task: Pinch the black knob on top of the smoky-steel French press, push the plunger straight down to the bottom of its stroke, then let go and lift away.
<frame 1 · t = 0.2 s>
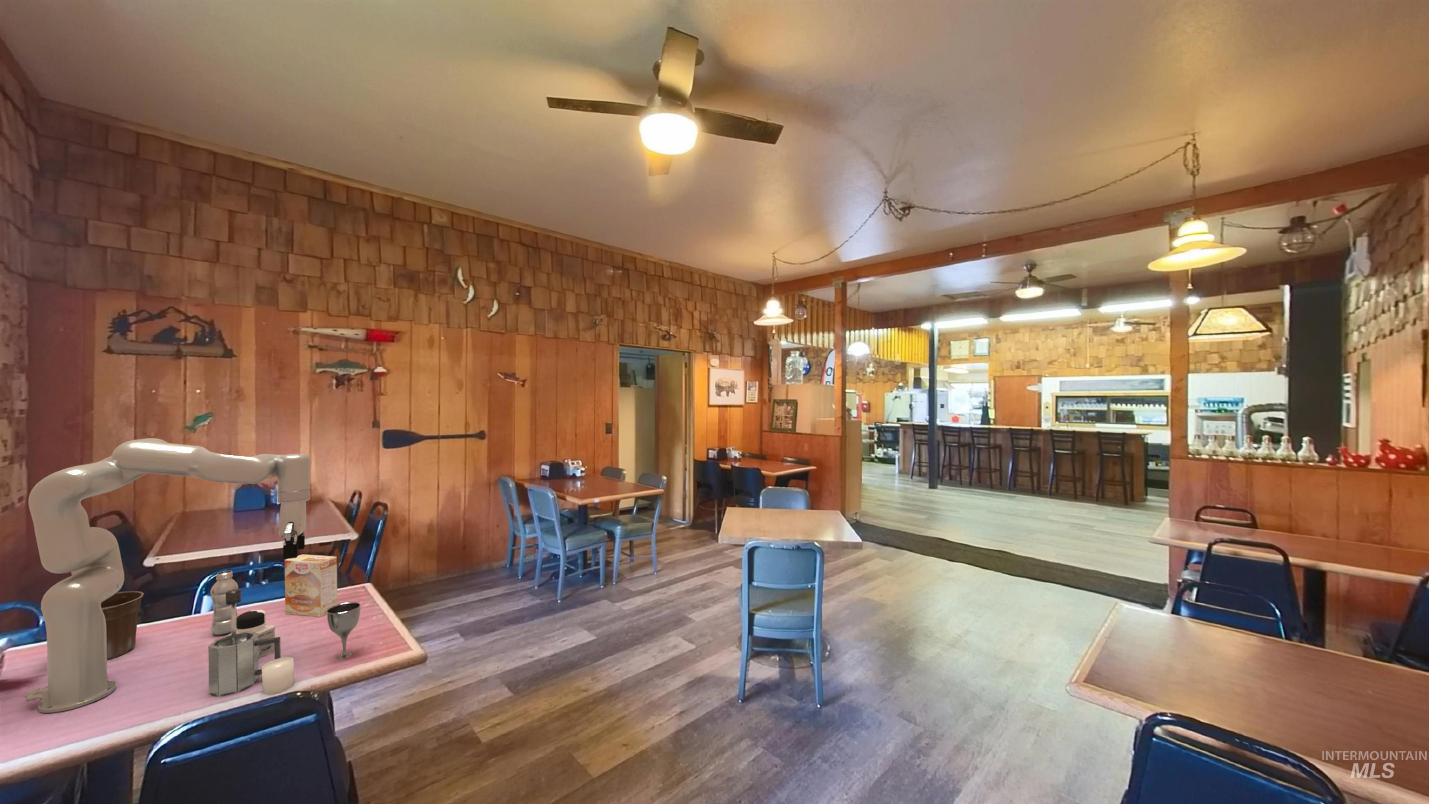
hand: (294, 553, 151), 31 cm above the table, fingers open, 9 cm apart
plunger: (233, 621, 135), point 18 cm above the table, slide at 0.0 cm
plant pot: (103, 655, 153), on the table
plastic bottle: (225, 633, 167), on the table
press carafe: (234, 688, 136), on the table
wine glass: (344, 658, 151), on the table
pillar candle: (278, 689, 135), on the table
coffeecake box: (311, 612, 184), on the table
container: (251, 656, 153), on the table
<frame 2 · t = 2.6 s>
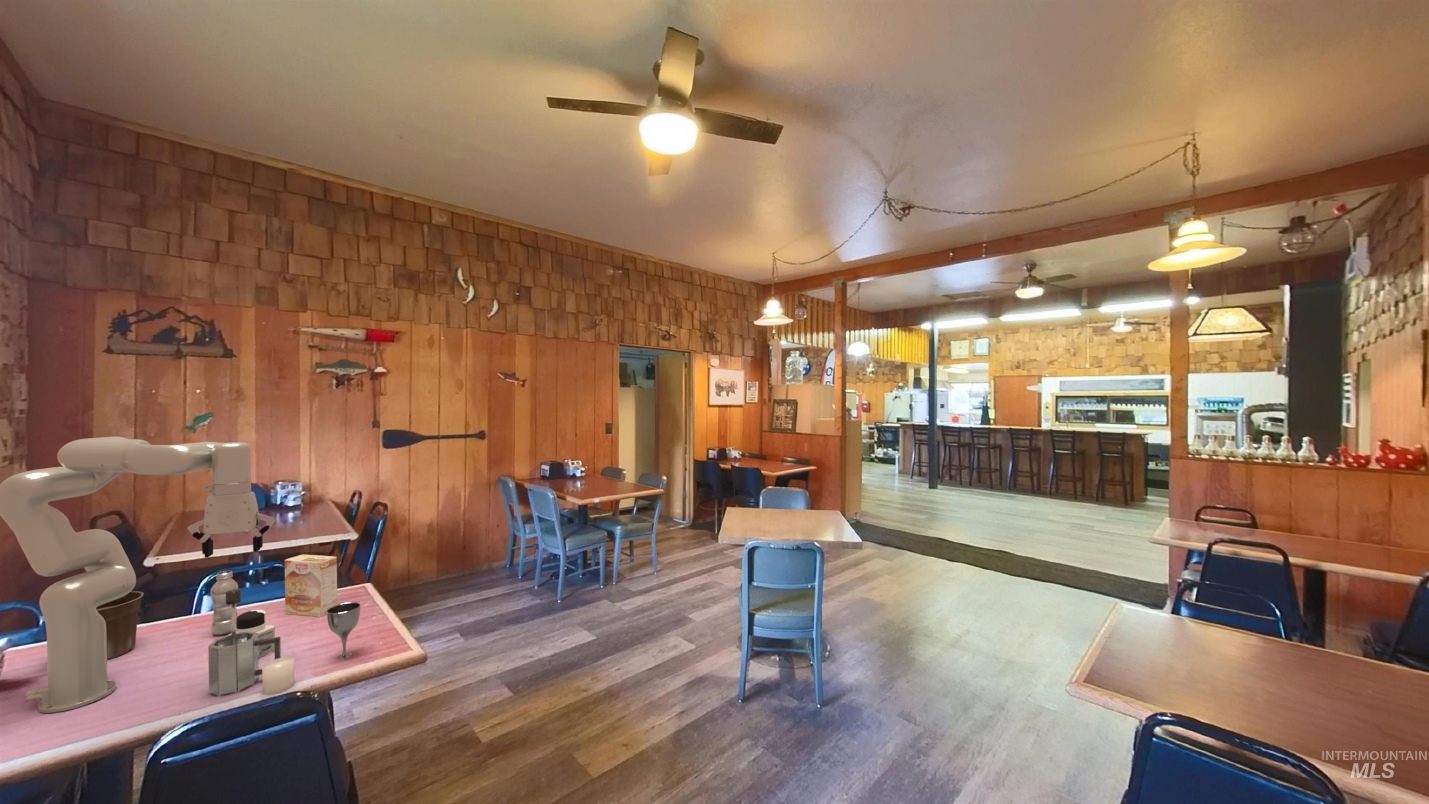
hand: (233, 553, 135), 36 cm above the table, fingers open, 9 cm apart
nothing on the table moved.
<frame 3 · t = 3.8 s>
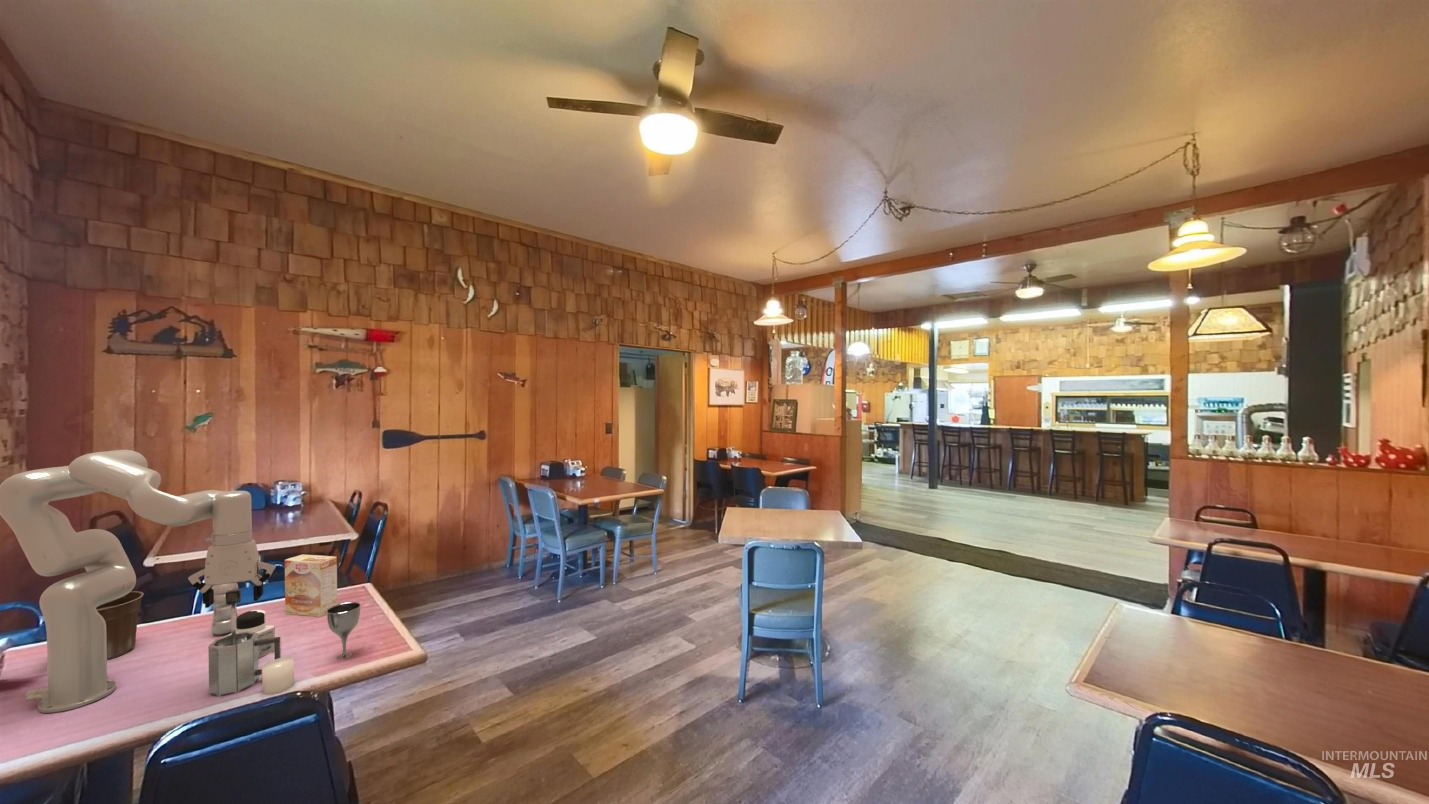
hand: (233, 602, 135), 23 cm above the table, fingers open, 9 cm apart
nothing on the table moved.
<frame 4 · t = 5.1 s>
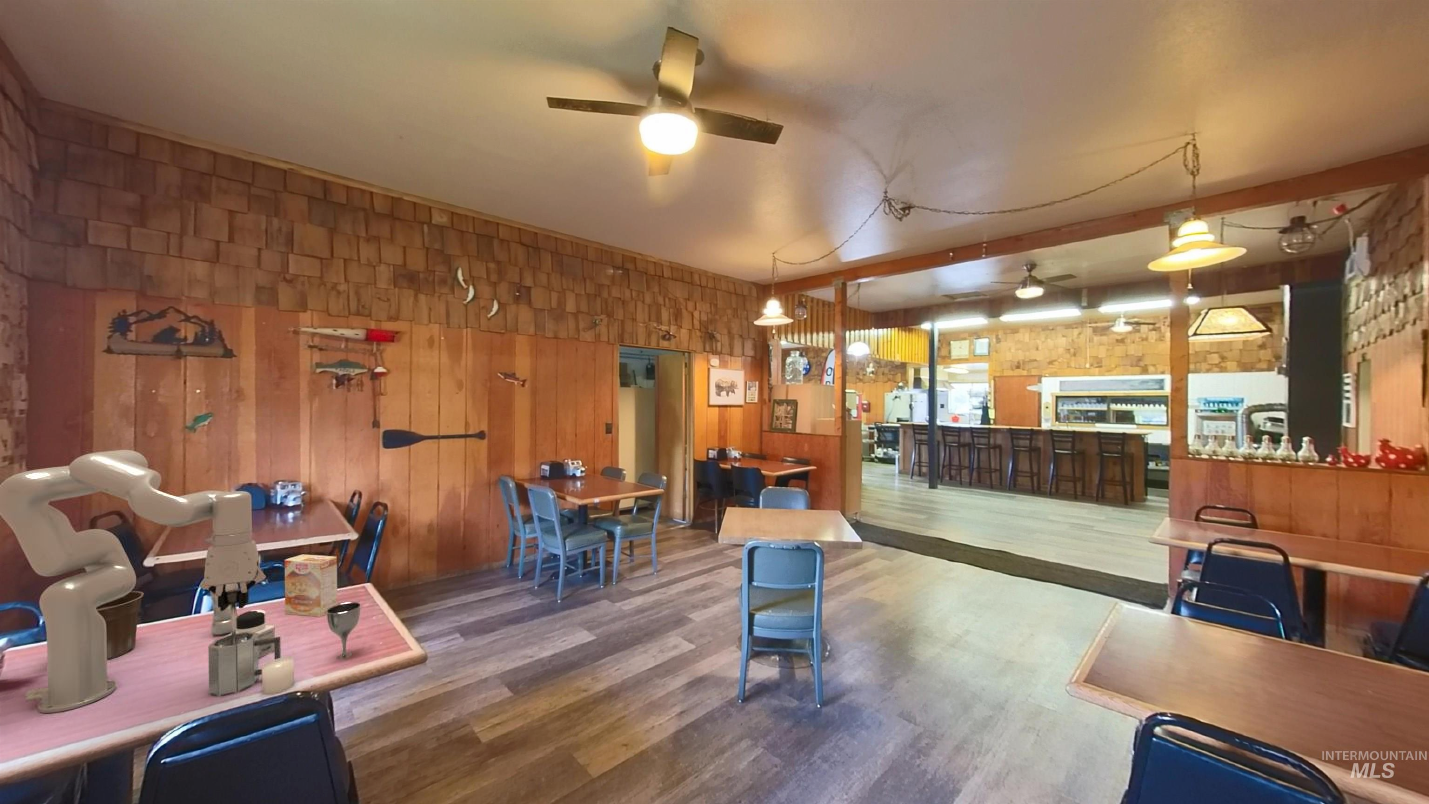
hand: (233, 607, 135), 22 cm above the table, fingers closed on plunger, 3 cm apart
plunger: (233, 621, 135), point 18 cm above the table, slide at 0.0 cm, touching gripper
everything else where it was.
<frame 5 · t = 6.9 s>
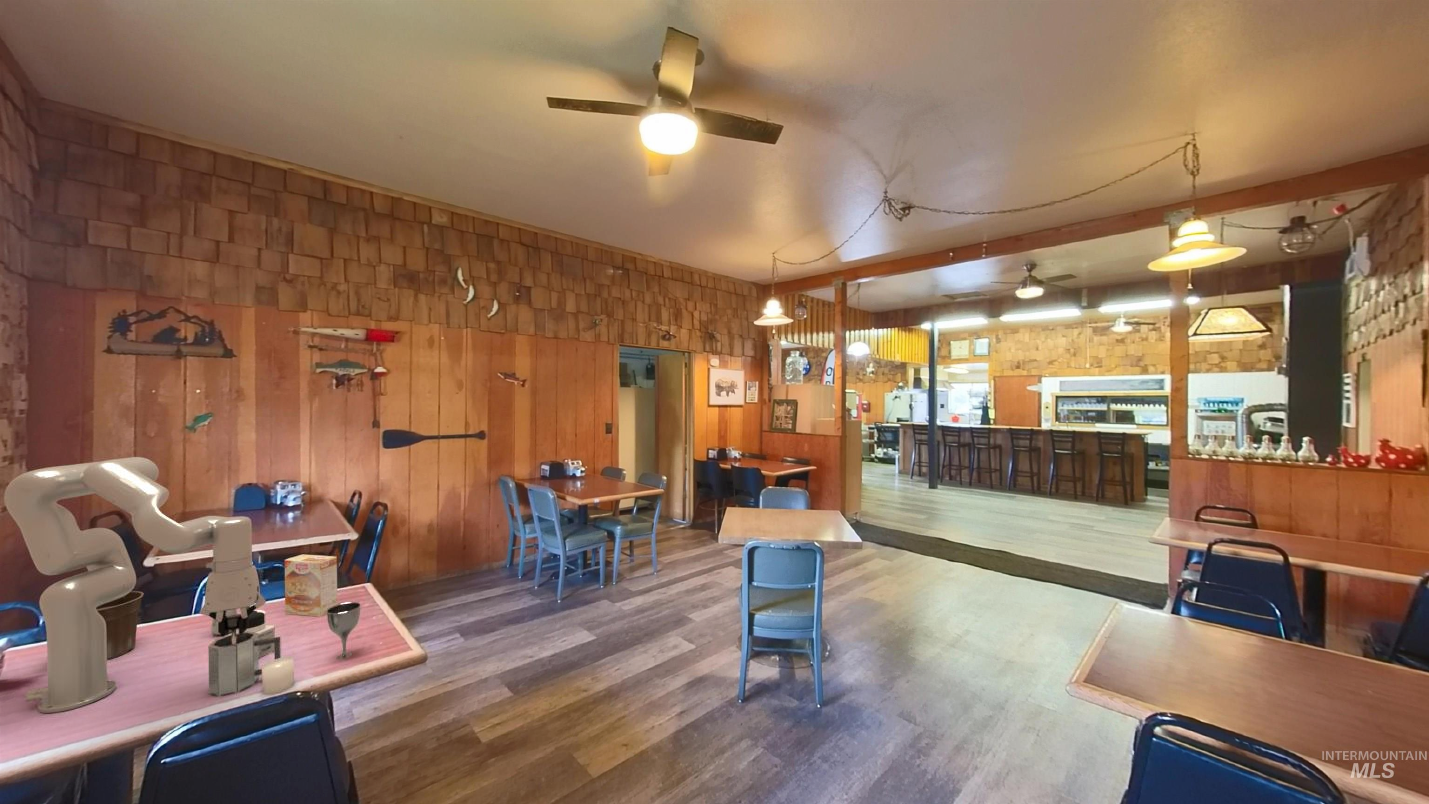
hand: (233, 632, 135), 15 cm above the table, fingers closed on plunger, 3 cm apart
plunger: (234, 647, 136), point 11 cm above the table, slide at 6.8 cm, touching gripper
everything else where it was.
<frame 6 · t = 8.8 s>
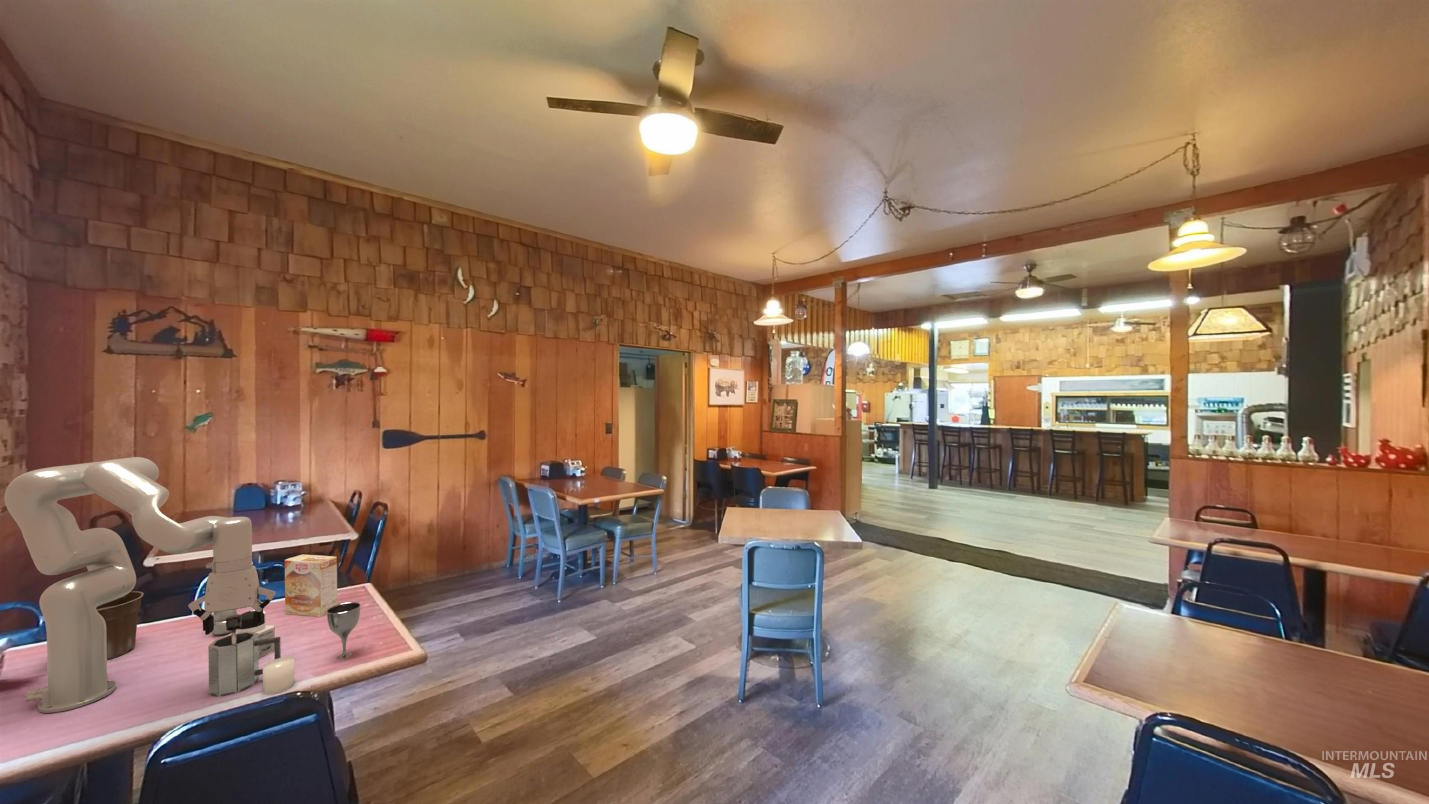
hand: (233, 628, 135), 16 cm above the table, fingers open, 9 cm apart
plunger: (234, 647, 136), point 11 cm above the table, slide at 6.9 cm
everything else where it was.
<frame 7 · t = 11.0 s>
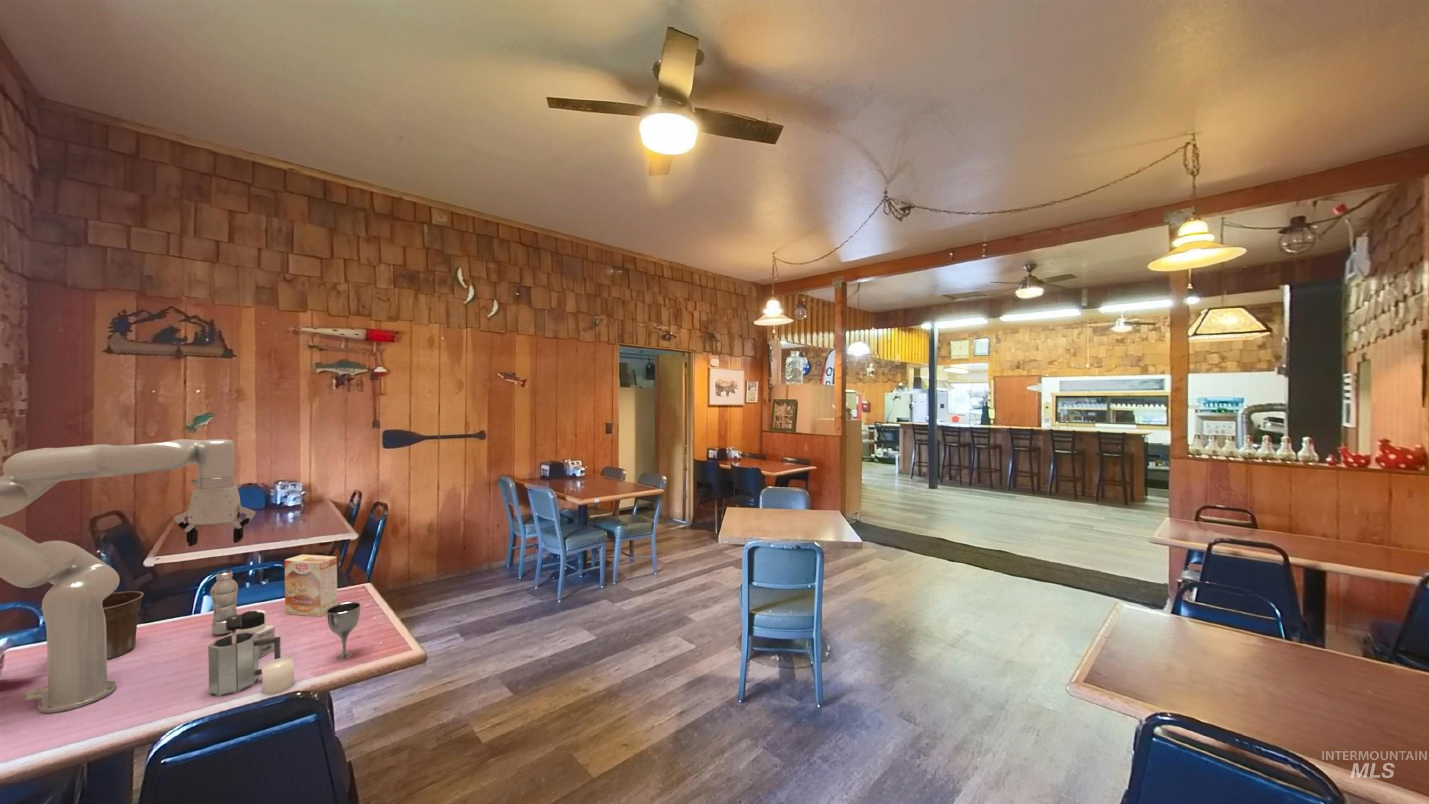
hand: (215, 543, 145), 36 cm above the table, fingers open, 9 cm apart
nothing on the table moved.
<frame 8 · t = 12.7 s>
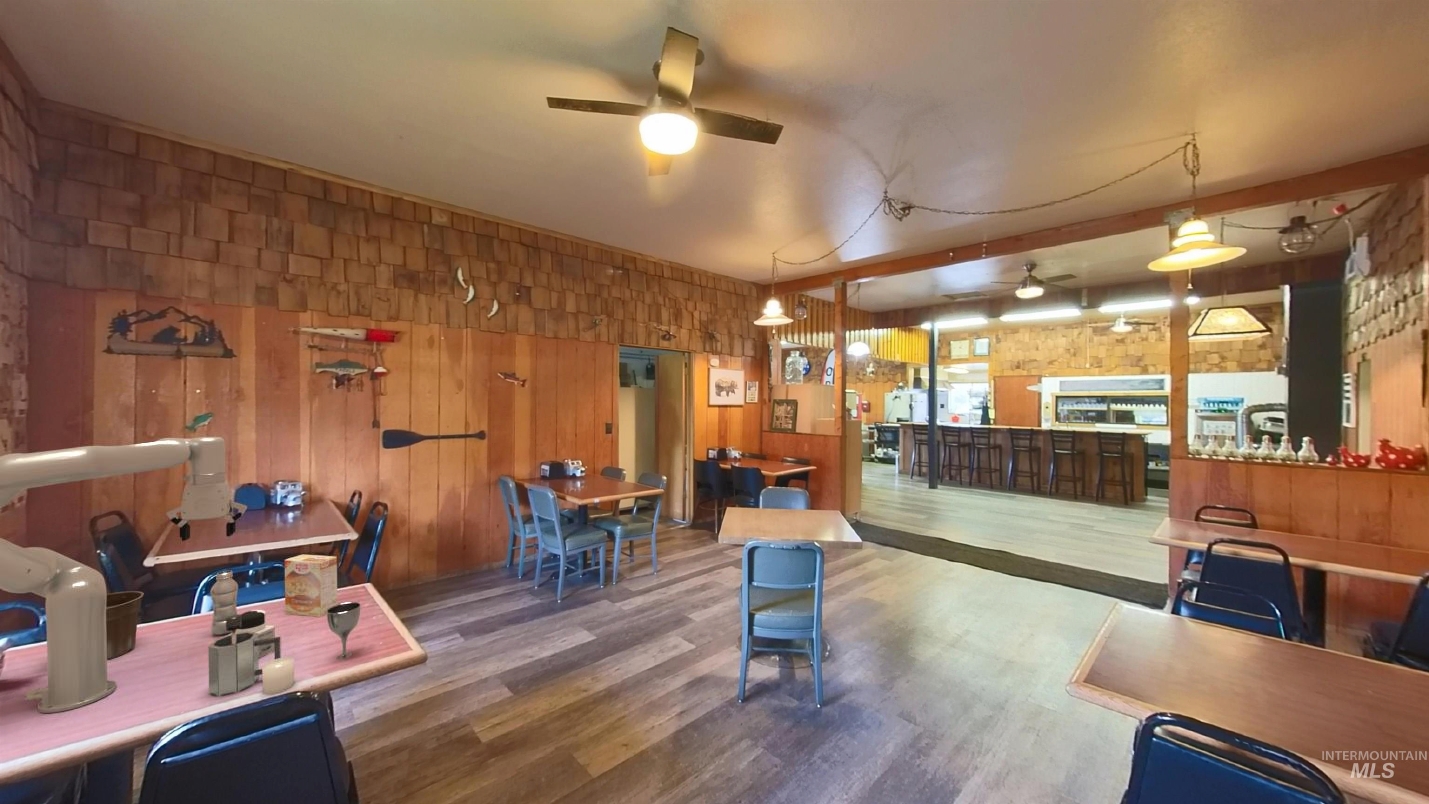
hand: (208, 537, 149), 36 cm above the table, fingers open, 9 cm apart
nothing on the table moved.
at the end: plunger slide at 6.9 cm; the gripper is holding nothing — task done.
